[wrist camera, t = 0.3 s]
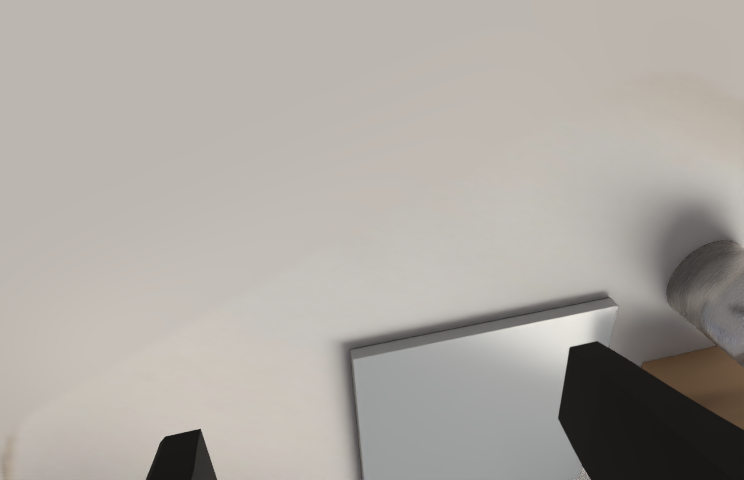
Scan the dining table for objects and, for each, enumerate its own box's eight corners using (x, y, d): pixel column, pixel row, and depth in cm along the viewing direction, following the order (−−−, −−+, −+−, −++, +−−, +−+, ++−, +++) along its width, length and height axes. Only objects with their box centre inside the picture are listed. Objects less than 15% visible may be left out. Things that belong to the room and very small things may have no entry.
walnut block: (696, 405, 31) (780, 491, 26) (625, 423, 30) (699, 514, 25) (718, 344, 28) (815, 427, 24) (641, 362, 28) (726, 450, 23)
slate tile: (573, 468, 31) (579, 477, 30) (366, 522, 29) (369, 533, 28) (610, 297, 25) (618, 305, 24) (350, 349, 23) (352, 359, 22)
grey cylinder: (730, 304, 27) (802, 358, 23) (658, 319, 26) (722, 377, 23) (754, 233, 25) (838, 282, 21) (677, 248, 24) (751, 300, 21)
